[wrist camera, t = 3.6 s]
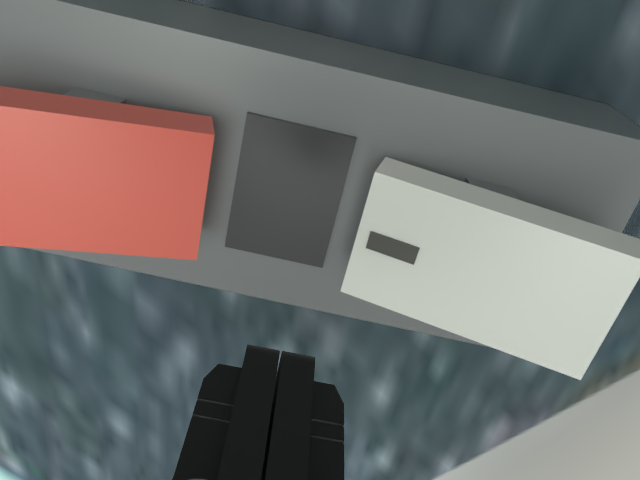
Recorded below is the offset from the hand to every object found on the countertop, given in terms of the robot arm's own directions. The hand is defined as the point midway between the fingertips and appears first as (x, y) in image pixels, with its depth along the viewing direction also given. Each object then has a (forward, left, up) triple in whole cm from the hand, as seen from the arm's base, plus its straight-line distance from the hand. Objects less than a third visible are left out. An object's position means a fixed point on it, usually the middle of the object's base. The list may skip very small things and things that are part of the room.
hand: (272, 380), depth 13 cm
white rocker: (-6, -1, -6) cm, 9 cm away
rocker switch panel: (+1, -1, -14) cm, 14 cm away
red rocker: (+7, -1, -6) cm, 10 cm away
